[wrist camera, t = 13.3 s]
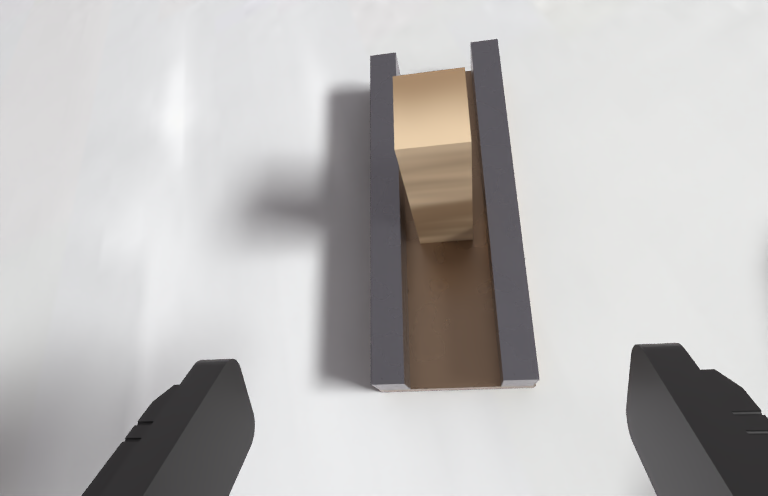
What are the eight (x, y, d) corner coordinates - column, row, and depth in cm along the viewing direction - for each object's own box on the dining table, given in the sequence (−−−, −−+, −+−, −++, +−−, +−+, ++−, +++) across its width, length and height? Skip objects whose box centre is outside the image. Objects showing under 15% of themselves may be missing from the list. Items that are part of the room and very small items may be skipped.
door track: (533, 387, 26) (541, 379, 23) (381, 392, 27) (369, 384, 24) (496, 77, 33) (499, 38, 30) (378, 92, 35) (368, 56, 31)
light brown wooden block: (472, 239, 28) (471, 141, 19) (420, 243, 29) (394, 149, 20) (468, 183, 30) (464, 67, 21) (417, 188, 30) (392, 76, 21)
